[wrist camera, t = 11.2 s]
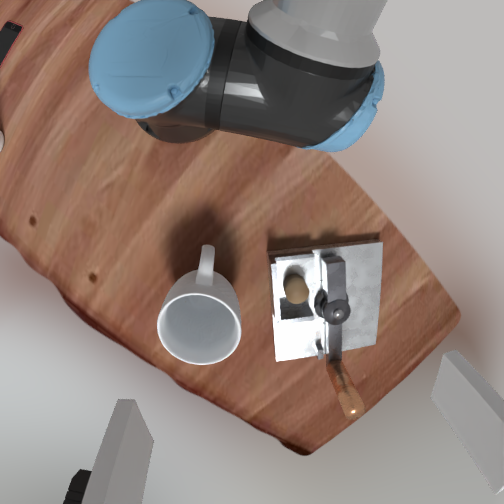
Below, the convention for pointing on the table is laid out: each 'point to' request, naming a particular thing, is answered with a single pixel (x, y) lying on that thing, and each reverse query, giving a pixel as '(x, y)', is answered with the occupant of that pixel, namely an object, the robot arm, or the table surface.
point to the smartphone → (8, 38)
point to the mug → (201, 315)
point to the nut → (295, 288)
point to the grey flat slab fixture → (308, 312)
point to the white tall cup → (1, 140)
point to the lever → (338, 334)
